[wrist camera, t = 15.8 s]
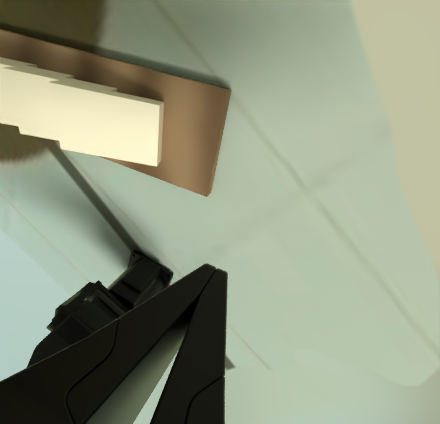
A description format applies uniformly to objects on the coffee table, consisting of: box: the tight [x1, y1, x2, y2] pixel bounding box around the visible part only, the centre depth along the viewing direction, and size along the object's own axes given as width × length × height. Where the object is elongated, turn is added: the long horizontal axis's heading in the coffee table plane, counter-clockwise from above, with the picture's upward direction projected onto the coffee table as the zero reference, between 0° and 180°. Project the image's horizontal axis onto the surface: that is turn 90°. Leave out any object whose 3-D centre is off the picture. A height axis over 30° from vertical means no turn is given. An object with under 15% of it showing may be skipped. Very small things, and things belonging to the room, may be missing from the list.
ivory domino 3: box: [48, 80, 164, 167], centre depth 19 cm, size 2×5×8 cm
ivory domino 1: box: [0, 60, 75, 126], centre depth 21 cm, size 2×5×8 cm
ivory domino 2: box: [2, 67, 118, 141], centre depth 20 cm, size 2×5×8 cm
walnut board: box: [0, 29, 231, 197], centre depth 22 cm, size 26×9×1 cm, turn 76°
